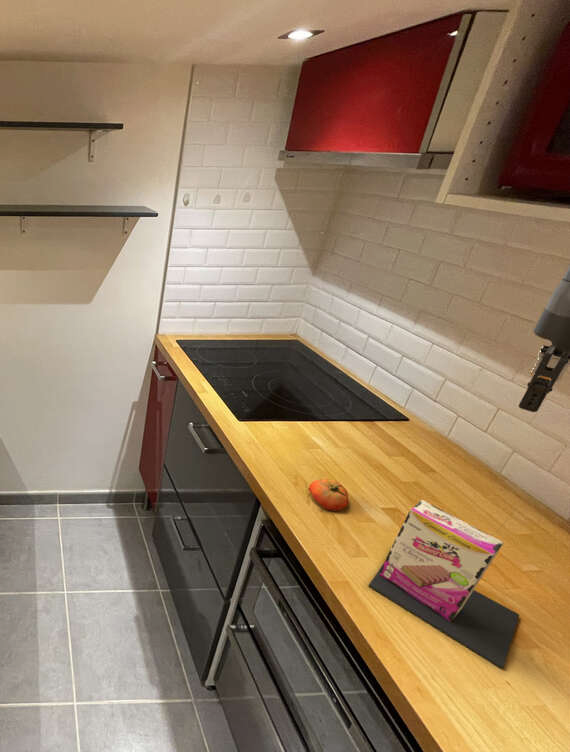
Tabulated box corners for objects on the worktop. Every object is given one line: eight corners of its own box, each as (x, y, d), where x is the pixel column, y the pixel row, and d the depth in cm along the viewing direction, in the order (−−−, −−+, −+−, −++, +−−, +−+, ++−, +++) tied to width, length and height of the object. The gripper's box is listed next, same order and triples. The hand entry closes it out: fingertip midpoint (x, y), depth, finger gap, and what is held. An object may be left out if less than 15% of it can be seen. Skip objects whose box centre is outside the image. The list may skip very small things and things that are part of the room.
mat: (517, 616, 76) (519, 614, 76) (501, 669, 69) (503, 667, 68) (393, 548, 89) (394, 546, 89) (368, 586, 81) (369, 584, 81)
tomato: (310, 503, 98) (319, 472, 100) (299, 502, 105) (307, 473, 106) (350, 518, 96) (358, 486, 98) (336, 517, 103) (344, 486, 104)
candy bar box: (376, 575, 83) (408, 508, 76) (389, 563, 85) (420, 497, 79) (451, 625, 74) (494, 554, 68) (462, 610, 77) (505, 540, 70)
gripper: (552, 297, 76) (508, 381, 83) (539, 314, 68) (492, 405, 75) (620, 309, 70) (568, 398, 77) (615, 328, 62) (557, 425, 69)
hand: (531, 401), depth 76 cm, fingers open, 8 cm apart
